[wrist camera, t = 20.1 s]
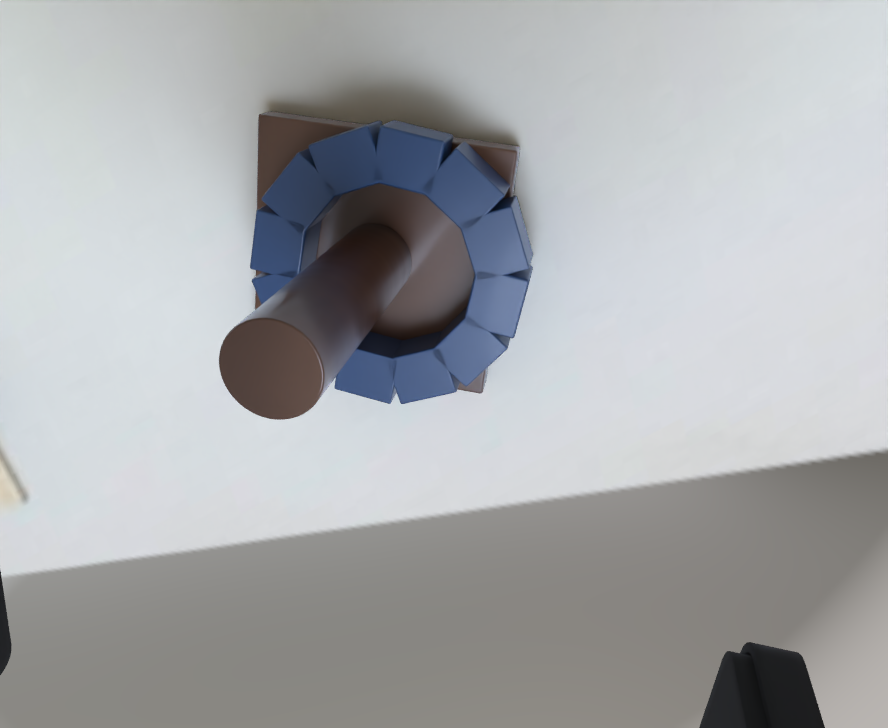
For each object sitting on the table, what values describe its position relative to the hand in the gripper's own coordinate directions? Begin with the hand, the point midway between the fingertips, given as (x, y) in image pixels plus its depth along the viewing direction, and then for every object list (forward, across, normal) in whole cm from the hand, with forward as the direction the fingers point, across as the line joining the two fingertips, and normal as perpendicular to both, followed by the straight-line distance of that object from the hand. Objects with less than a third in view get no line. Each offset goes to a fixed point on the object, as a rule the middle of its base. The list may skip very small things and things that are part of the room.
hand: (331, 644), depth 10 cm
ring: (+16, +3, 0) cm, 17 cm away
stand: (+18, +4, 0) cm, 18 cm away
